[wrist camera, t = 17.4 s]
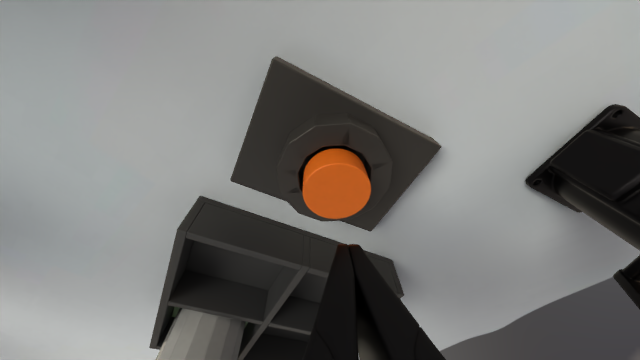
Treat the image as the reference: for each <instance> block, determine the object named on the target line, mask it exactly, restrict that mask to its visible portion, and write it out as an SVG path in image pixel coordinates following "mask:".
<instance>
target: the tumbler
mask: <svg viewBox="0 0 640 360" xmlns="http://www.w3.org/2000/svg"><path fill="white" fill-rule="evenodd" d="M245 323H246V321H241V320H236V319H231V318H227V317H222V316H217V315H212V314H207V313H203V312H198V311H193V310H188V309H183V308H180V309H179V311H178V313H177V315H176V317H175V319H174V321H173V324H172V326H171V328H170V330H169V332H168V334H167V336H166V338H165V340H164V343H163V345H162V347H161V349H160V351H159V353H158V355H157V357H156V359H155V360H237V359H238V354H239V350H240V345H241V341H242V337H243V332H244V328H245Z"/></svg>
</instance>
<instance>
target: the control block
mask: <svg viewBox="0 0 640 360" xmlns="http://www.w3.org/2000/svg"><path fill="white" fill-rule="evenodd" d="M440 148H441V146H440V145H439V144H438V143H437V142H436V141H435V140H434V139H433V138H431V137H429V136H427V135H425V134H423V133H421V132H419V131H417V130H416V129H414V128H412V127H410V126H408V125H406V124H404V123H402V122H400V121H398V120H397V119H395V118H393V117H391V116H389V115H387V114H385V113H383V112H381V111H379V110H378V109H376V108H374V107H372V106H370V105H368V104H366V103H364V102H362V101H360V100H359V99H357V98H355V97H353V96H351V95H349V94H347V93H345V92H343V91H342V90H340V89H338V88H336V87H334V86H332V85H330V84H328V83H326V82H324V81H323V80H321V79H319V78H317V77H315V76H313V75H311V74H309V73H307V72H305V71H304V70H302V69H300V68H298V67H296V66H294V65H292V64H290V63H288V62H286V61H285V60H283V59H281V58H279V57H275V58H273V59H272V61H271V64H270V67H269V70H268V73H267V76H266V79H265V81H264V84H263V87H262V90H261V93H260V96H259V99H258V102H257V105H256V107H255V110H254V113H253V116H252V119H251V122H250V125H249V128H248V131H247V133H246V136H245V139H244V142H243V145H242V148H241V151H240V154H239V157H238V159H237V162H236V165H235V168H234V171H233V174H232V177H231V181H232V182H235V183H238V184H241V185H243V186H246V187H249V188H252V189H254V190H257V191H260V192H263V193H265V194H268V195H271V196H274V197H277V198H279V199H282V200H285V201H287V202H288V203H289V204H290V205H291V206H292V207H293V208H294V209H295V210H296V211H297V212H298V213H300V214H302V215H305V216H308V217H311V218H314V219H317V220H320V221H337V220H340V221H343V222H346V223H348V224H351V225H354V226H357V227H360V228H362V229H365V230H368V231H372V230H373V228H374V227H375V226H376V225H377V224H378V222H379V221H380V220H381V219H382V218H383V216H384V215H385V214H386V213H387V212H388V210H389V209H390V208H391V207H392V206H393V204H394V203H395V202H396V201H397V200H398V198H399V197H400V196H401V195H402V194H403V192H404V191H405V190H406V189H407V188H408V186H409V185H410V184H411V183H412V182H413V181H414V179H415V178H416V177H417V176H418V175H419V173H420V172H421V171H422V170H423V169H424V167H425V166H426V165H427V164H428V163H429V161H430V160H431V159H432V158H433V157H434V155H435V154H436V153H437V152H438V151H439V149H440ZM328 149H344V150H348V151H350V152H352V153H354V154H355V155H357V156H358V157H359V158H360V160H361V161H362V163H363V164H364V167H365V170H366V172H367V175H368V178H369V181H370V184H371V194H370V198H369V200H368V202H367V203H366V205H365V206H364V207H363V208H362V209H361V210H360V211H359V212H357V213H355V214H354V215H351V216H349V217H346V218H340V219H329V218H325V217H321V216H319V215H317V214H315V213H314V212H312V211H311V210H310V209H309V208H308V206H307V205H306V203H305V201H304V199H303V176H304V170H305V167H306V165H307V163H308V162H309V160H310V159H311V158H312V157H313V156H315V155H316V154H318V153H320V152H322V151H324V150H328Z"/></svg>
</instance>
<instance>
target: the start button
mask: <svg viewBox="0 0 640 360" xmlns="http://www.w3.org/2000/svg"><path fill="white" fill-rule="evenodd" d="M370 194H371V184H370V181H369V178H368V175H367V172H366V170H365V167H364V164H363V163H362V161H361V160H360V158H359V157H358V156H357V155H355V154H354V153H352V152H350V151H348V150H344V149H328V150H324V151H322V152H320V153H318V154H316V155H315V156H313V157H312V158H311V159H310V160H309V162H308V163H307V165H306V167H305V170H304V176H303V199H304V201H305V203H306V205H307V206H308V208H309V209H310V210H311V211H312V212H314V213H315V214H317V215H319V216H321V217H325V218H329V219H340V218H346V217H349V216H351V215H354V214H355V213H357V212H359V211H360V210H361V209H362V208H363V207H364V206H365V205H366V203H367V202H368V200H369V198H370Z"/></svg>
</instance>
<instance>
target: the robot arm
mask: <svg viewBox="0 0 640 360" xmlns="http://www.w3.org/2000/svg"><path fill="white" fill-rule="evenodd" d="M526 184H527V185H528V186H530V187H531V188H533V189H535V190H537V191H539V192H541V193H542V194H544V195H546V196H548V197H550V198H552V199H554V200H556V201H557V202H559V203H561V204H563V205H565V206H567V207H569V208H571V209H572V210H574V211H576V212H579V213H580V212H584V213H585V214H587V215H588V216H590V217H591V218H592V219H594V220H595V221H597V222H598V223H600V224H601V225H603V226H604V227H606V228H607V229H609V230H610V231H612V232H613V233H615V234H616V235H617V236H619V237H620V238H622V239H623V240H625V241H626V242H628V243H629V244H631V245H632V246H634V247H635V248H637V249H638V250H640V118H639V117H638V116H637V115H636V114H634V113H633V112H632V111H630V110H629V109H628V108H627V107H625V106H621V105H617V104H614V105H611V106H609V107H607V108H606V109H605V110H604V111H603V112H601V113H600V114H599V115H598V116H597V117H596V118H595V119H594V120H592V121H591V122H590V123H589V124H588V125H587V126H586V127H584V128H583V129H582V130H581V131H580V132H579V133H578V134H577V135H575V136H574V137H573V138H572V139H571V140H570V141H569V142H567V143H566V144H565V145H564V146H563V147H562V148H561V149H560V150H558V151H557V152H556V153H555V154H554V155H553V156H552V157H551V158H549V159H548V160H547V161H546V162H545V163H544V164H543V165H541V166H540V167H539V168H538V169H537V170H536V171H535V172H534V173H532V174H531V175H530V176H529V177H528V178H527V179H526ZM613 277H614V279H615V280H616V281H617V282H618V283H619V285H620V286H621V287H622V288H623V290H624V291H625V292H626V293H627V295H628V296H629V297H630V298H631V299H632V301H633V302H634V303H635V304H636V306H637V307H638V308H639V309H640V256H638V257H637V258H636V259H635V260H634V261H633V262H631V263H630V264H629V265H628V266H627V267H626V268H624V269H621V270H619V271H617V272H616V273H615V274H614V275H613ZM358 353H359V358H358ZM359 359H360V360H446V359H445V358H444V357H443V356H442V354H441V353H440V352H439V350H438V349H437V348H436V346H435V345H434V344H433V343H432V341H431V340H430V339H429V337H428V336H427V335H426V333H425V332H424V331H423V329H422V328H421V327H419V324H418V323H417V321H416V320H415V319H414V317H413V316H412V315H411V313H410V312H409V311H408V309H407V308H406V307H405V305H404V304H403V303H402V301H401V300H400V299H399V297H398V296H397V295H396V293H395V292H394V291H393V289H392V288H391V287H390V285H389V284H388V283H387V281H386V280H385V279H384V277H383V276H382V275H381V273H380V272H379V271H378V269H377V268H376V267H375V265H374V264H373V263H372V261H371V260H370V259H369V257H368V256H367V255H366V253H365V252H364V251H363V249H362V248H361V246H360V245H357V244H350V245H347V244H338V245H337V248H336V251H335V255H334V258H333V261H332V265H331V268H330V271H329V275H328V278H327V281H326V285H325V288H324V291H323V295H322V298H321V301H320V305H319V308H318V311H317V315H316V318H315V321H314V325H313V328H312V331H311V334H310V337H309V341H308V344H307V347H306V350H305V353H304V356H303V359H302V360H359Z"/></svg>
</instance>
